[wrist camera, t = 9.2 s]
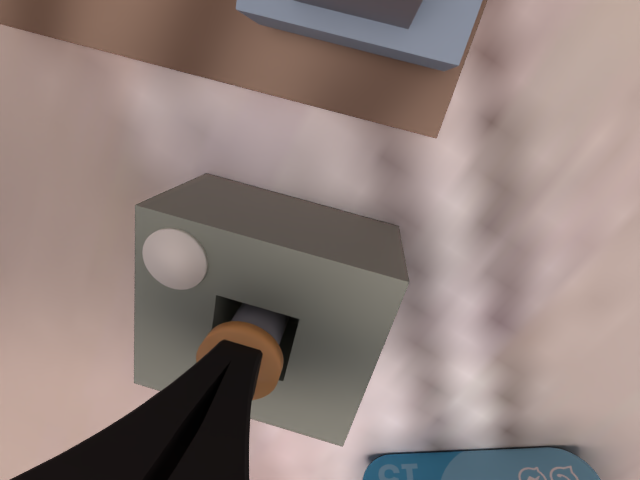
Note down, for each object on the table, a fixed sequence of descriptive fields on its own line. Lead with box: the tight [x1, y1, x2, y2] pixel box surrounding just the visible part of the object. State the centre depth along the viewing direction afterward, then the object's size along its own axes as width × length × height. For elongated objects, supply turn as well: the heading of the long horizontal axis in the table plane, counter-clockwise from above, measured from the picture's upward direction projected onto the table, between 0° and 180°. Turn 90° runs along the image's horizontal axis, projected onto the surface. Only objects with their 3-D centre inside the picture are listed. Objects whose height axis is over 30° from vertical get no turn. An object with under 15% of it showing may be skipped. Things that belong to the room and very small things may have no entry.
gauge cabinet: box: [134, 173, 409, 447], centre depth 14 cm, size 9×8×5 cm
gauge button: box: [196, 303, 290, 400], centre depth 13 cm, size 3×3×5 cm
